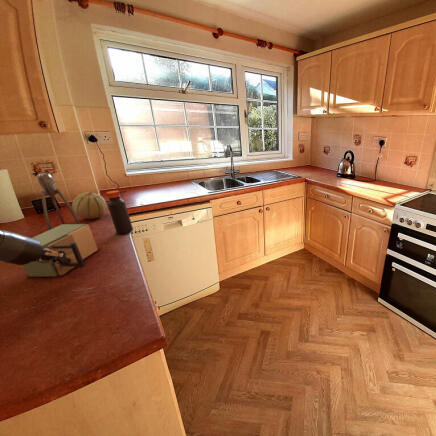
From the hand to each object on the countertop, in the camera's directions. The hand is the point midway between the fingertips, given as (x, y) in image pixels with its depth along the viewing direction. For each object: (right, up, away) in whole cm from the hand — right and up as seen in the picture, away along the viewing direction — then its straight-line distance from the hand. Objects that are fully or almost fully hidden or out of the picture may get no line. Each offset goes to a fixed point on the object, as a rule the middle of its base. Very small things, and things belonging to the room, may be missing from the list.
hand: (68, 262), depth 79 cm
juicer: (-34, +6, +37) cm, 51 cm away
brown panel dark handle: (-3, -4, +9) cm, 10 cm away
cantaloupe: (-38, +14, +57) cm, 70 cm away
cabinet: (-14, -3, +14) cm, 19 cm away
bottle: (-8, +8, +39) cm, 40 cm away
